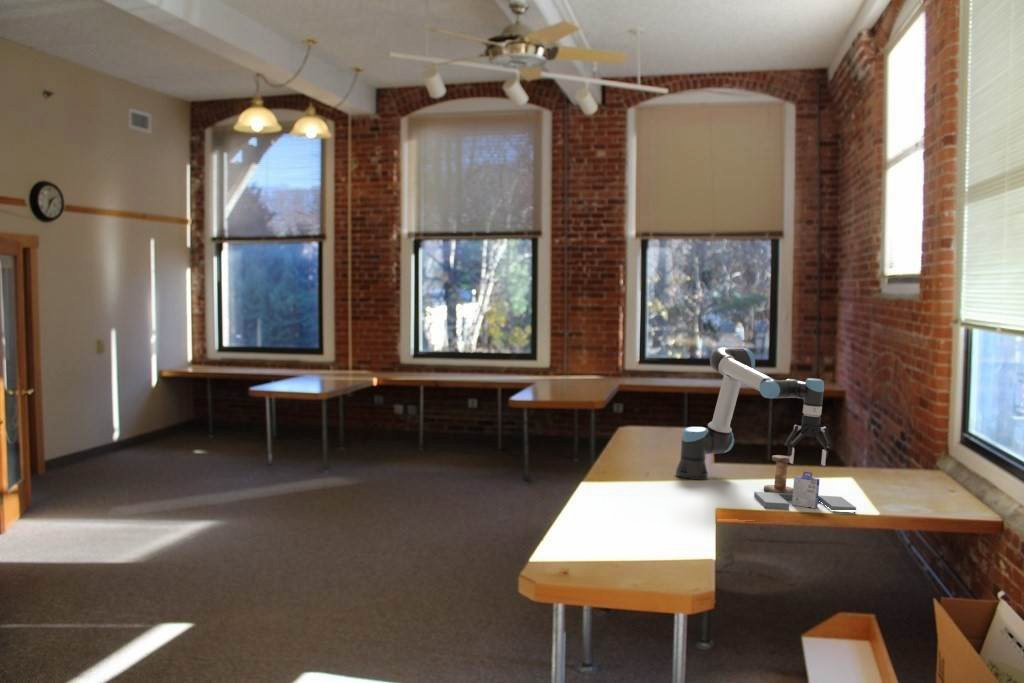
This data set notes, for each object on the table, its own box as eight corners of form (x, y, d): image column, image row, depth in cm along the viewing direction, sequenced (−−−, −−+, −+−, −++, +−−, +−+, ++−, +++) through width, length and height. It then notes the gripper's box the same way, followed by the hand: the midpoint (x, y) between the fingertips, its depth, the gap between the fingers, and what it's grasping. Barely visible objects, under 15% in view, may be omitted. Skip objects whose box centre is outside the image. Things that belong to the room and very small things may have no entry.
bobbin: (768, 494, 390) (771, 459, 389) (760, 487, 404) (762, 453, 403) (799, 496, 390) (802, 461, 389) (790, 489, 404) (793, 455, 403)
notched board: (765, 508, 366) (765, 502, 366) (753, 497, 384) (754, 491, 384) (855, 513, 366) (856, 507, 365) (840, 502, 384) (840, 496, 383)
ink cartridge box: (817, 506, 374) (820, 473, 373) (815, 509, 369) (818, 475, 368) (794, 502, 379) (797, 469, 378) (791, 505, 374) (794, 471, 373)
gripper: (785, 414, 367) (780, 464, 369) (844, 418, 367) (839, 468, 369) (779, 411, 375) (775, 460, 377) (838, 415, 374) (833, 463, 376)
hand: (807, 464), depth 373 cm, fingers open, 13 cm apart
